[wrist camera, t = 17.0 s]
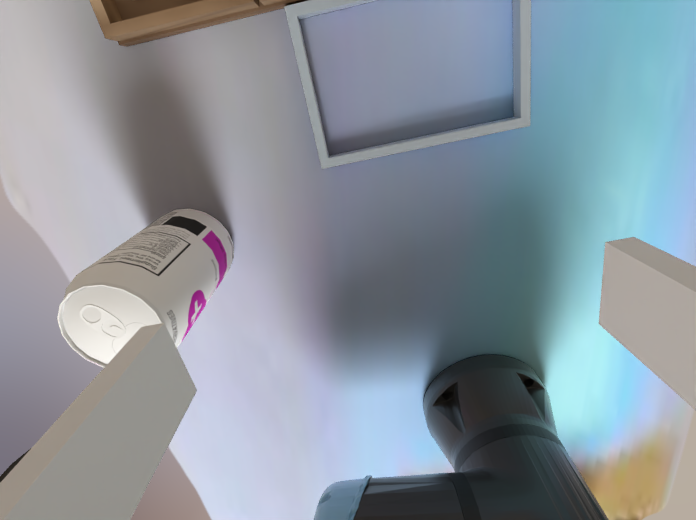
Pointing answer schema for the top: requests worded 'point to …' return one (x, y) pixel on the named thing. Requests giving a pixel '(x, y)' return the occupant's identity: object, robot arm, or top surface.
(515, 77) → the frame
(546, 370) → the top surface
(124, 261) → the supplement can
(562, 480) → the robot arm
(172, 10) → the brown divided tray
